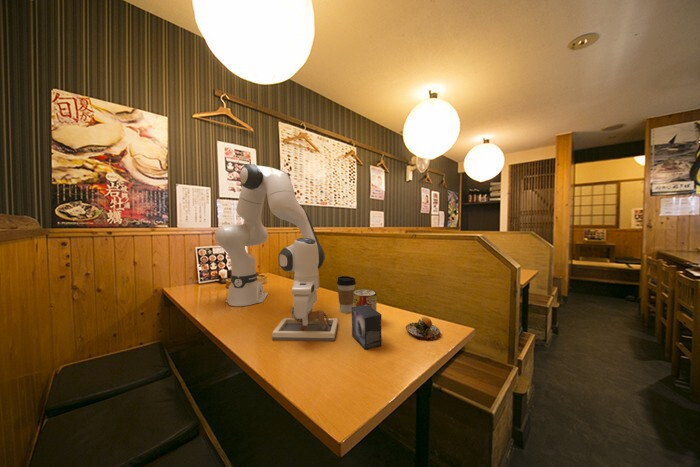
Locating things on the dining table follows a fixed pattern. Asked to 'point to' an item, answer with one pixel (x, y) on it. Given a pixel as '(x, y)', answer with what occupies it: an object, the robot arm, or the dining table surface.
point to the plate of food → (424, 329)
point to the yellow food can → (364, 298)
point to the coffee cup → (346, 293)
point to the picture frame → (292, 330)
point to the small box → (366, 326)
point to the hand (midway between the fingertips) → (307, 321)
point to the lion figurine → (313, 318)
